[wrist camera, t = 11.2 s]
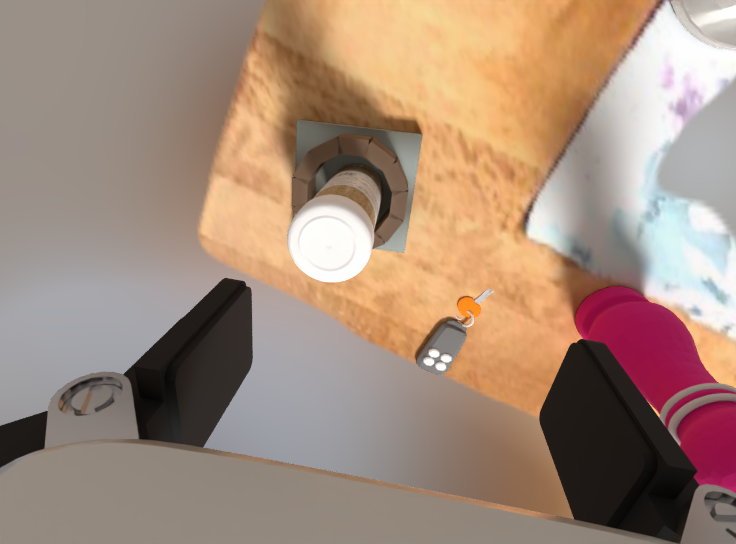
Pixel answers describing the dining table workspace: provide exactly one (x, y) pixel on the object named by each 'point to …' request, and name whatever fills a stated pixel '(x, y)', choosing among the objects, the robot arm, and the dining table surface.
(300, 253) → the sprinkles bottle
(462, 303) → the key chain
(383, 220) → the collar
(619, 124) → the dining table surface
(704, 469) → the pepper mill
